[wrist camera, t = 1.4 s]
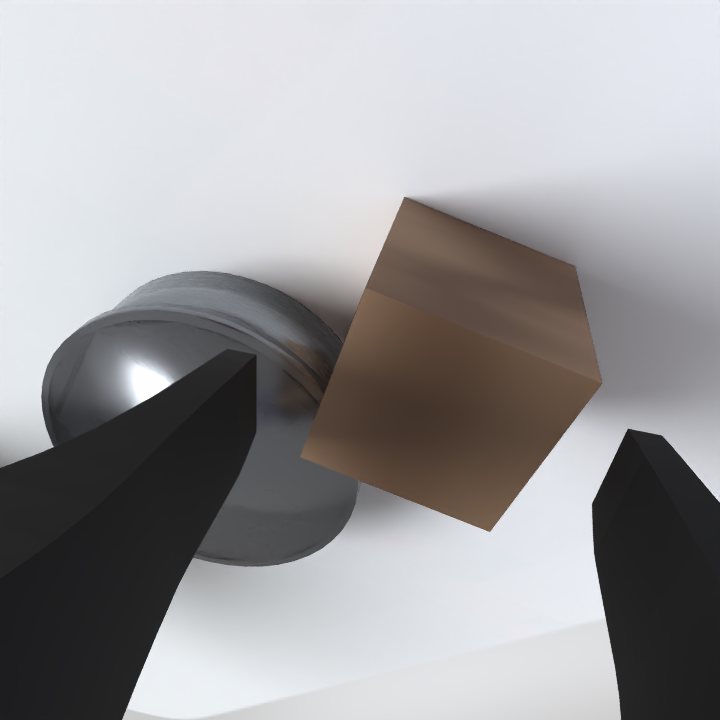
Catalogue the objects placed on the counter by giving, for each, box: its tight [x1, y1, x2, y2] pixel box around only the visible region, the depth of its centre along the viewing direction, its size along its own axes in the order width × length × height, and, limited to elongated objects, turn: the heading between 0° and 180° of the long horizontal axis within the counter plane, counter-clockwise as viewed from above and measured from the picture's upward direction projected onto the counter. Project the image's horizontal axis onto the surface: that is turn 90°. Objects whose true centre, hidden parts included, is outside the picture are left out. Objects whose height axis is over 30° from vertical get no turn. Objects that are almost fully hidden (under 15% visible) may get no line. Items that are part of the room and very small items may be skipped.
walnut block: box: [300, 197, 602, 532], centre depth 14 cm, size 4×4×5 cm
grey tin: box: [41, 271, 360, 566], centre depth 18 cm, size 9×9×3 cm
